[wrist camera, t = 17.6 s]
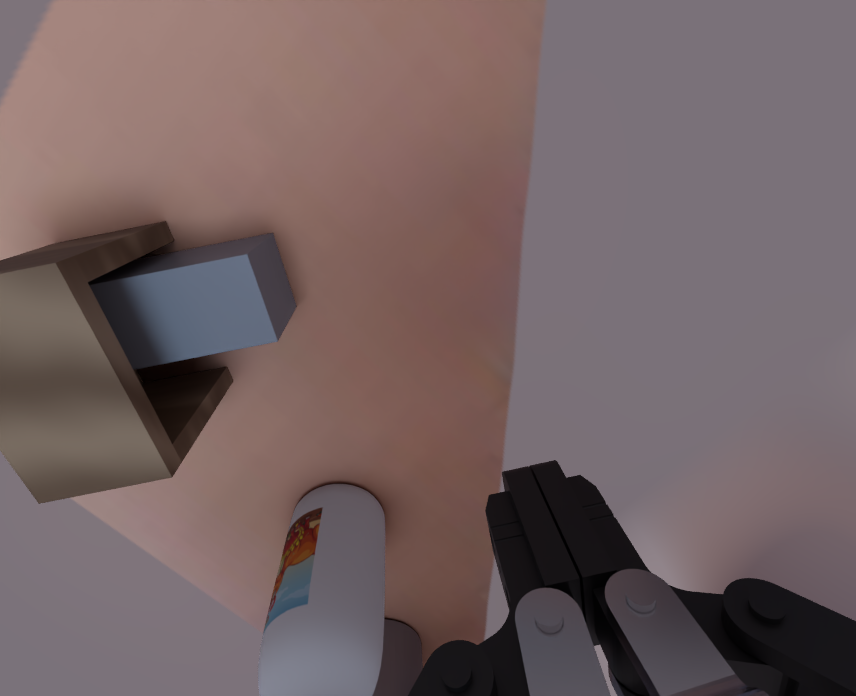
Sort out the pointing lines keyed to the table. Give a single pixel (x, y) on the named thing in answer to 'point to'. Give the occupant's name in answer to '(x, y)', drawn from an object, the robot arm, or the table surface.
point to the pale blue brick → (197, 301)
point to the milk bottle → (327, 599)
